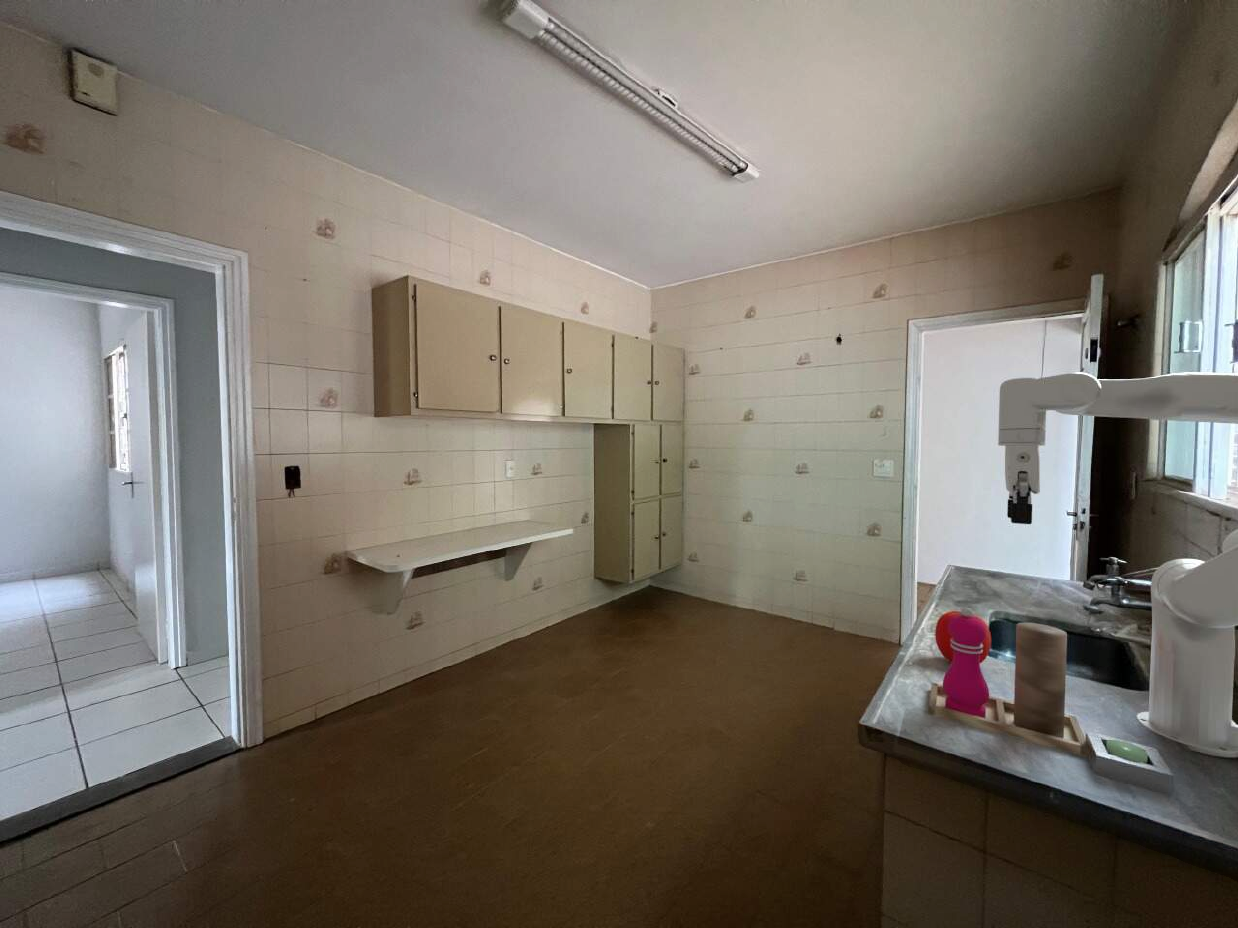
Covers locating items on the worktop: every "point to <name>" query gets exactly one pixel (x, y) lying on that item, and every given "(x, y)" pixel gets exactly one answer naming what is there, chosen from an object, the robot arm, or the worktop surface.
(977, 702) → the pepper mill
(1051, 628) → the seated billet
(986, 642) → the tomato
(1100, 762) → the button box
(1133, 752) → the button
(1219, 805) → the worktop surface
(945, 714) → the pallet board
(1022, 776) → the worktop surface
